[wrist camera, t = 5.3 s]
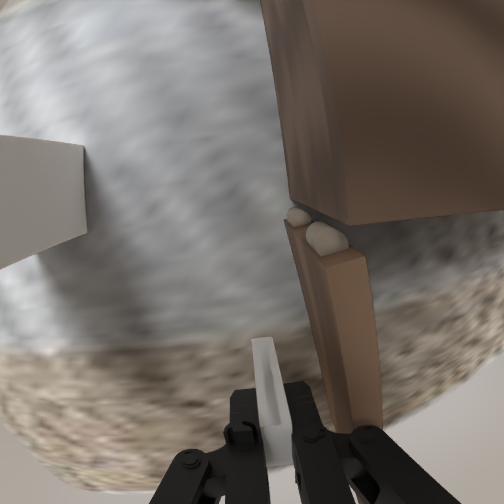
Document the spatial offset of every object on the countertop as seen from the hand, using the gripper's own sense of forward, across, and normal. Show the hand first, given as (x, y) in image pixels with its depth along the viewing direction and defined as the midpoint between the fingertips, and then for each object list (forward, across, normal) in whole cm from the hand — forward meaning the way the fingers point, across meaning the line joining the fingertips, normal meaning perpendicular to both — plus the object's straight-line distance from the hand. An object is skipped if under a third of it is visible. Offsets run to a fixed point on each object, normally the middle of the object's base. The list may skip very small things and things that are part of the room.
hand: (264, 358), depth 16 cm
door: (+4, +3, -1) cm, 5 cm away
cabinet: (+4, +11, +16) cm, 20 cm away
